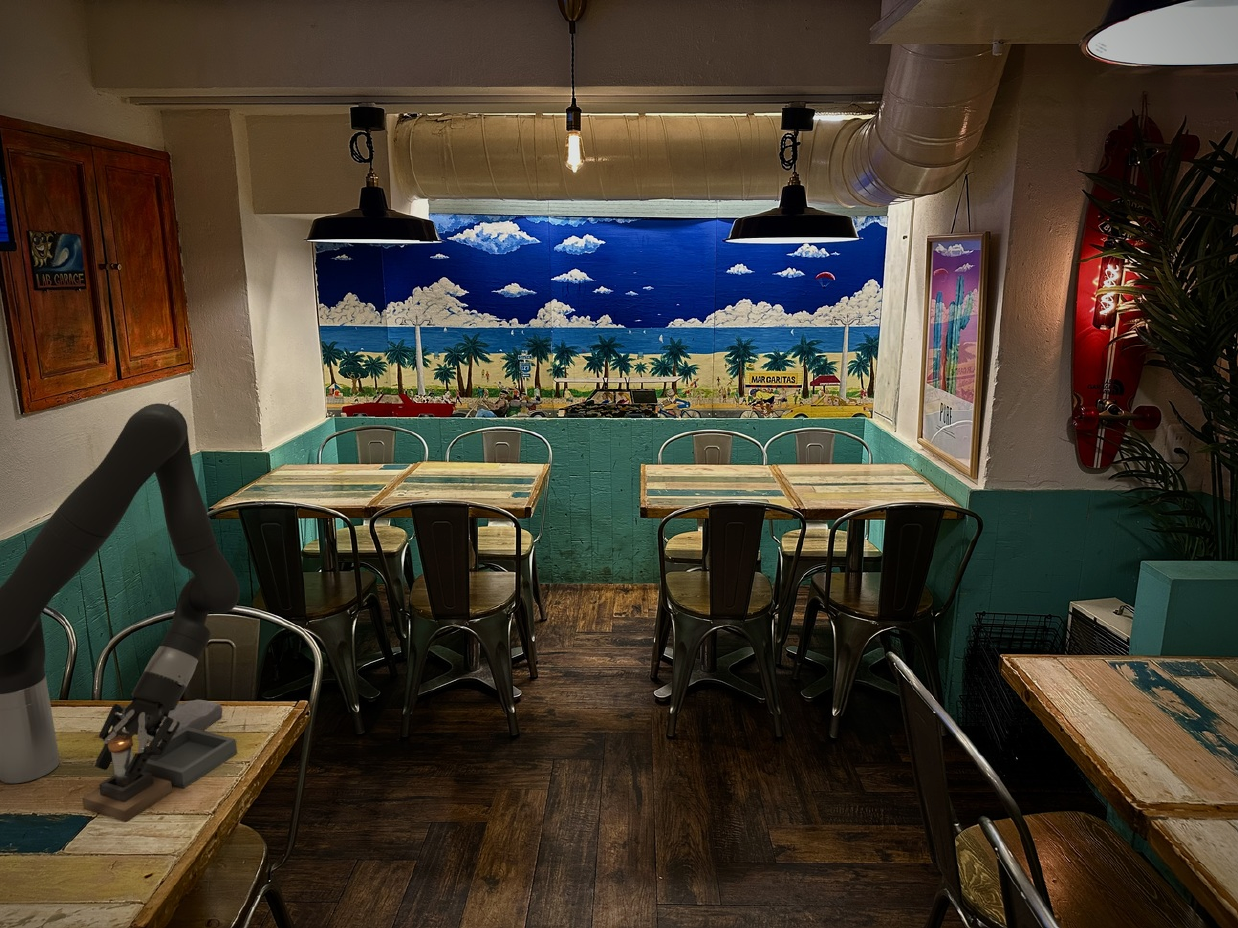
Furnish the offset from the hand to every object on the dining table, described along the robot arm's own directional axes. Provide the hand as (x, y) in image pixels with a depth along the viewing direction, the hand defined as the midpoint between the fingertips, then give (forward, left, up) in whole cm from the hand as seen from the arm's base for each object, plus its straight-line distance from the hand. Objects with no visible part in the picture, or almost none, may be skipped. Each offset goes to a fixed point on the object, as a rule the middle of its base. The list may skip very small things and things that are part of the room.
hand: (115, 772), depth 146 cm
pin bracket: (0, +2, -6) cm, 6 cm away
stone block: (-12, +23, -7) cm, 27 cm away
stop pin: (0, +2, -4) cm, 4 cm away
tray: (0, +14, -6) cm, 15 cm away
